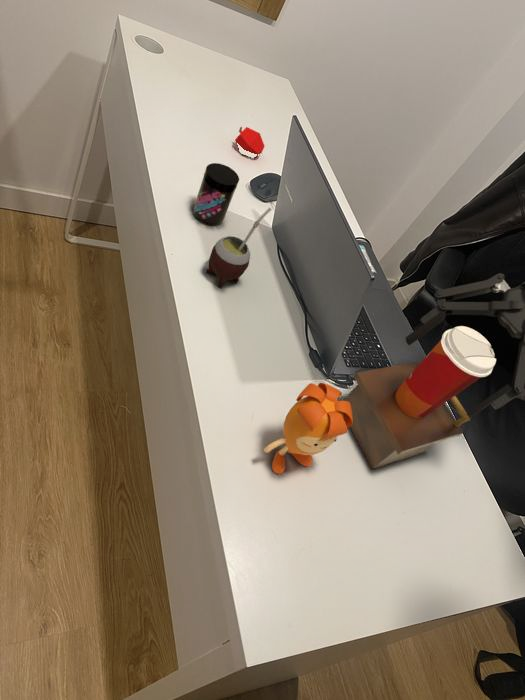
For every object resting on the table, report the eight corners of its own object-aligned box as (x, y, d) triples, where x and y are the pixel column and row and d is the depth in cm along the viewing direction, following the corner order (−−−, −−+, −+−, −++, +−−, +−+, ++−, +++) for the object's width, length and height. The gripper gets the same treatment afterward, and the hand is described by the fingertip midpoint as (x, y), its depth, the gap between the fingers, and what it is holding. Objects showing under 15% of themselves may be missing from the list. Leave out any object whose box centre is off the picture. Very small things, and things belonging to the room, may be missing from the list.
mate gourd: (201, 283, 91) (226, 219, 80) (207, 256, 96) (231, 192, 85) (239, 296, 92) (269, 235, 81) (243, 268, 97) (271, 207, 86)
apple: (275, 139, 123) (252, 113, 121) (263, 153, 120) (240, 127, 117) (259, 154, 129) (237, 130, 126) (248, 168, 125) (225, 144, 122)
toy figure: (261, 485, 70) (306, 437, 59) (243, 436, 74) (281, 382, 63) (328, 468, 76) (379, 421, 65) (307, 423, 80) (352, 372, 69)
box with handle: (430, 456, 85) (476, 423, 77) (370, 476, 78) (413, 442, 70) (389, 388, 92) (427, 351, 83) (330, 401, 85) (366, 361, 76)
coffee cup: (427, 386, 82) (489, 331, 71) (438, 429, 77) (507, 376, 66) (384, 375, 80) (441, 316, 69) (392, 419, 75) (455, 362, 64)
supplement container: (187, 205, 103) (200, 162, 95) (216, 205, 107) (231, 163, 99) (199, 227, 100) (213, 184, 93) (228, 226, 104) (244, 185, 96)
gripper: (621, 362, 69) (493, 450, 71) (496, 239, 78) (385, 320, 80) (644, 349, 62) (501, 447, 64) (503, 216, 71) (382, 305, 73)
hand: (436, 377), depth 72 cm, fingers open, 13 cm apart
